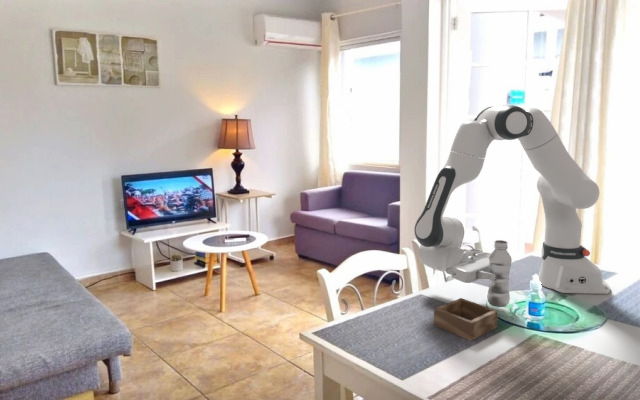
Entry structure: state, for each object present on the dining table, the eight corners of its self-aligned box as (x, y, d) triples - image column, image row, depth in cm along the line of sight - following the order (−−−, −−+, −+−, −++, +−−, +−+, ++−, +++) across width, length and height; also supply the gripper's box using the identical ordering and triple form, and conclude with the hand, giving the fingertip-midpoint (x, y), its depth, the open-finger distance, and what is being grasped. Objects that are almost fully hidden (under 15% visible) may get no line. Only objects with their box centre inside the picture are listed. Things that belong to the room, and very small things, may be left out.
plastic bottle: (506, 301, 154) (509, 238, 150) (512, 310, 148) (515, 245, 144) (484, 300, 155) (487, 238, 151) (489, 309, 148) (492, 245, 145)
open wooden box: (460, 313, 150) (460, 298, 149) (497, 327, 141) (498, 310, 140) (433, 325, 143) (434, 308, 142) (471, 340, 133) (471, 323, 132)
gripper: (442, 261, 152) (482, 272, 142) (481, 247, 165) (520, 257, 154) (442, 280, 154) (481, 293, 143) (480, 265, 166) (519, 276, 155)
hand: (502, 274), depth 149 cm, fingers closed on plastic bottle, 5 cm apart
